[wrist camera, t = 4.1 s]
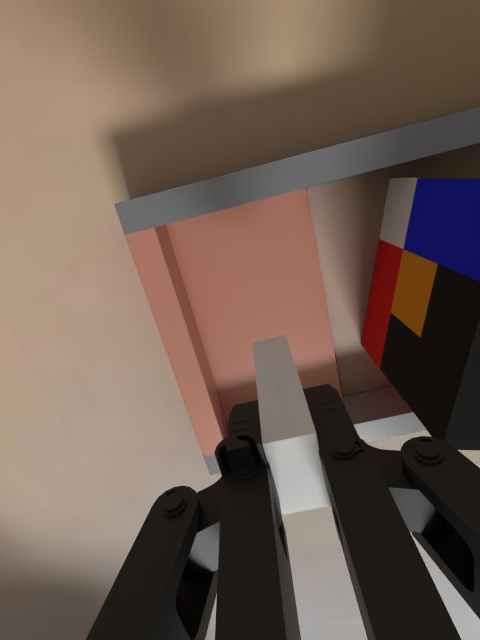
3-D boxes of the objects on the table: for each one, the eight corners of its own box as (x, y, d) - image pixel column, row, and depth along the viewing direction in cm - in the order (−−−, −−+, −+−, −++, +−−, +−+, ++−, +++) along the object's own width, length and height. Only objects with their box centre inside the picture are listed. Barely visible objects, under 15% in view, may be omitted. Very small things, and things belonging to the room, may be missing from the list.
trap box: (212, 443, 27) (208, 500, 22) (130, 200, 21) (100, 207, 16) (703, 338, 24) (816, 376, 19) (771, 29, 18) (957, -23, 14)
